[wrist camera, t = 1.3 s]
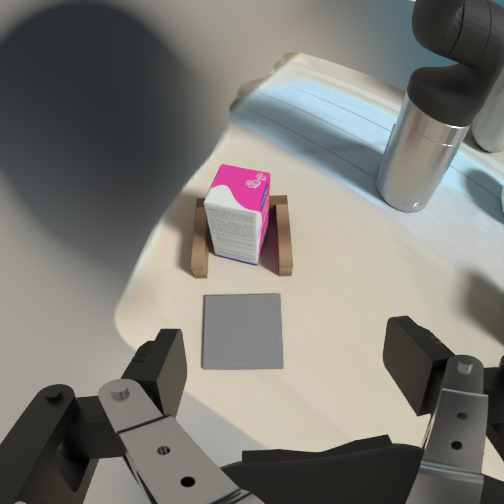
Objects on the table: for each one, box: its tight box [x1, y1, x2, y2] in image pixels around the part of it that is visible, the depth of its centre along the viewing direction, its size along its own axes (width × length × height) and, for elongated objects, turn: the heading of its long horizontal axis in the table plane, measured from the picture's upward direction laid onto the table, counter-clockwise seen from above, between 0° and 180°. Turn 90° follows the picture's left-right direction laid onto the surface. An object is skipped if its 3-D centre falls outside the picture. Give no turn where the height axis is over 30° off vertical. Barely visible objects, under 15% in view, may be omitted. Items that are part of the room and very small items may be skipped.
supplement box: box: [204, 164, 270, 265], centre depth 38 cm, size 6×6×12 cm
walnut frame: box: [191, 195, 293, 278], centre depth 42 cm, size 10×12×3 cm
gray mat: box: [203, 294, 283, 370], centre depth 37 cm, size 9×9×1 cm
